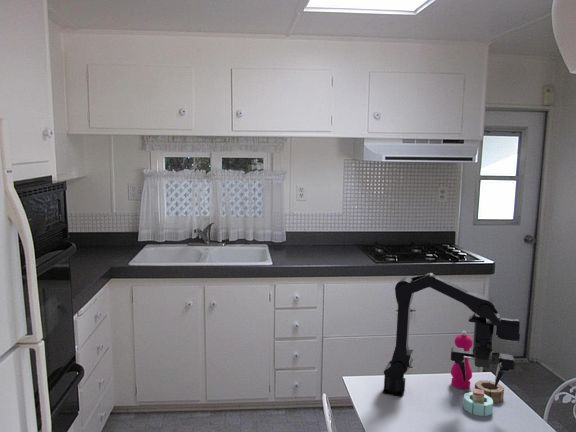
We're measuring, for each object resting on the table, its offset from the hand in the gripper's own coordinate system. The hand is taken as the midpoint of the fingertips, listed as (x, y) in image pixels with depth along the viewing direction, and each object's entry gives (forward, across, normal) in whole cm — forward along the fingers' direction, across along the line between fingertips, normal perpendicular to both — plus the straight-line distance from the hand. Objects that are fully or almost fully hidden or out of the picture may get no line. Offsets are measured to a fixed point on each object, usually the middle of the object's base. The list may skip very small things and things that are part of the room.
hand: (480, 383), depth 152 cm
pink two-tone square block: (+9, 0, 0) cm, 9 cm away
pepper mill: (+9, -5, +16) cm, 19 cm away
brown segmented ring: (+9, +4, +11) cm, 15 cm away
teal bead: (+9, 0, 0) cm, 9 cm away
